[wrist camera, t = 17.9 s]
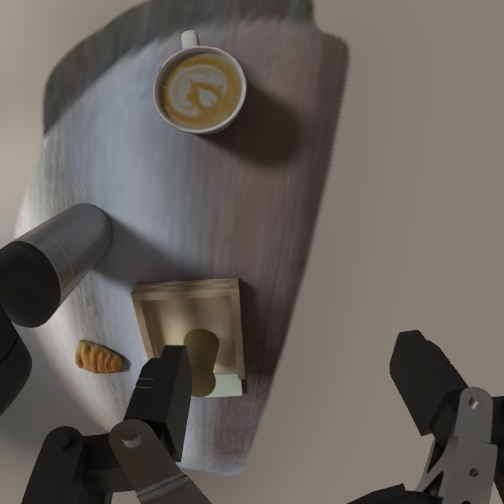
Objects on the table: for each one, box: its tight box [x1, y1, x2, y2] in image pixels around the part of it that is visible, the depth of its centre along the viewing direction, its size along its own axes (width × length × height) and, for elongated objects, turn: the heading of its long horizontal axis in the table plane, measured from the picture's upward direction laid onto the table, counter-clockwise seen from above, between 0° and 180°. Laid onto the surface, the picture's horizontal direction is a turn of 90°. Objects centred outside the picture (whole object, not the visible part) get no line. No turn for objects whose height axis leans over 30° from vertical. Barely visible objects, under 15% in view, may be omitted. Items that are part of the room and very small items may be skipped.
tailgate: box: [191, 371, 242, 398], centre depth 54 cm, size 14×1×6 cm
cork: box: [183, 329, 219, 397], centre depth 45 cm, size 6×6×11 cm
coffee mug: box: [153, 30, 247, 135], centre depth 33 cm, size 13×10×10 cm
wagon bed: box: [131, 278, 245, 380], centre depth 49 cm, size 16×18×4 cm
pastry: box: [75, 340, 123, 374], centre depth 50 cm, size 9×7×4 cm
